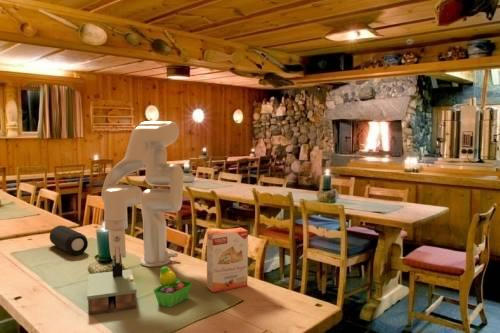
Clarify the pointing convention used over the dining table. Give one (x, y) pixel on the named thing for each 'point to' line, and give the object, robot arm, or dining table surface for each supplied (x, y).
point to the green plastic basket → (171, 288)
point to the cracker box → (227, 259)
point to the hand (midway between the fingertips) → (117, 275)
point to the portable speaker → (68, 240)
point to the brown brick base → (104, 304)
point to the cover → (110, 284)
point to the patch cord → (111, 302)
